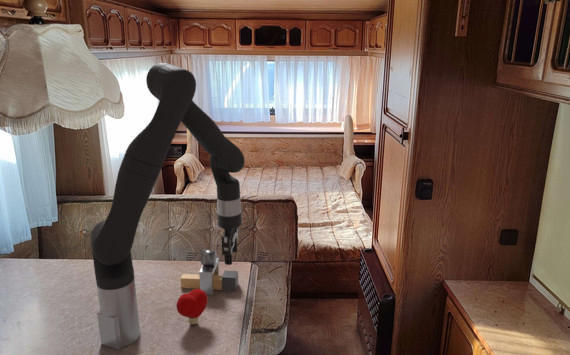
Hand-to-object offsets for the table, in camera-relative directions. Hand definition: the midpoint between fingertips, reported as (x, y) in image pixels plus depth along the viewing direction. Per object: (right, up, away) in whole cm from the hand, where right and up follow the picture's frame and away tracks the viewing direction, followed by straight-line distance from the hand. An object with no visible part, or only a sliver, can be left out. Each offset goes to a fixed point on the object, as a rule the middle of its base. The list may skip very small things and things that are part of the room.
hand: (231, 257), depth 137 cm
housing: (-8, -10, +4) cm, 13 cm away
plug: (-8, -10, +4) cm, 13 cm away
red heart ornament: (-9, -16, -16) cm, 24 cm away
